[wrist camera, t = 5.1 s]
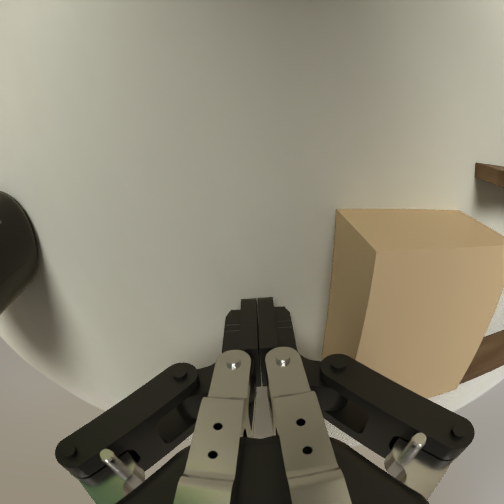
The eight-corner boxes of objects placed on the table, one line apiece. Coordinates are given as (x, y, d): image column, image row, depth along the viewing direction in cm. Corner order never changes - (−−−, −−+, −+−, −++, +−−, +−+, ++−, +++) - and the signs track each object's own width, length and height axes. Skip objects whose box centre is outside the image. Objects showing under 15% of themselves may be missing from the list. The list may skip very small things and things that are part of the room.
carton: (334, 207, 13) (376, 251, 8) (456, 209, 13) (516, 244, 8) (321, 352, 17) (338, 418, 12) (423, 337, 17) (455, 389, 12)
